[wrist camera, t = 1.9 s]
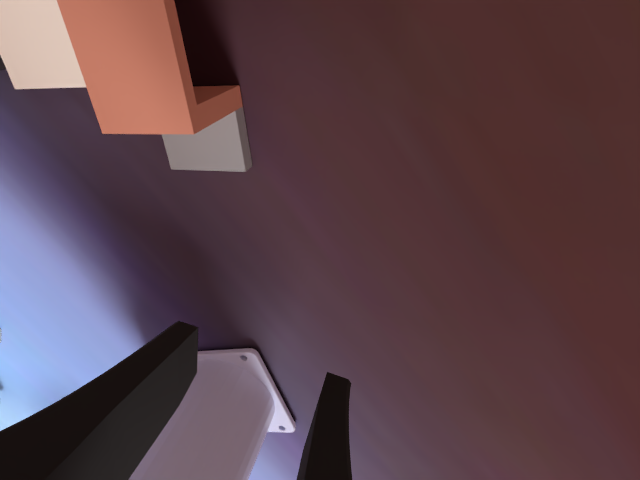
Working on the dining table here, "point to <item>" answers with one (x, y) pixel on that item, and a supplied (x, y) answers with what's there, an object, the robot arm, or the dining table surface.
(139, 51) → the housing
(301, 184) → the dining table surface
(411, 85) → the dining table surface
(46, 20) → the plug
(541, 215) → the dining table surface
